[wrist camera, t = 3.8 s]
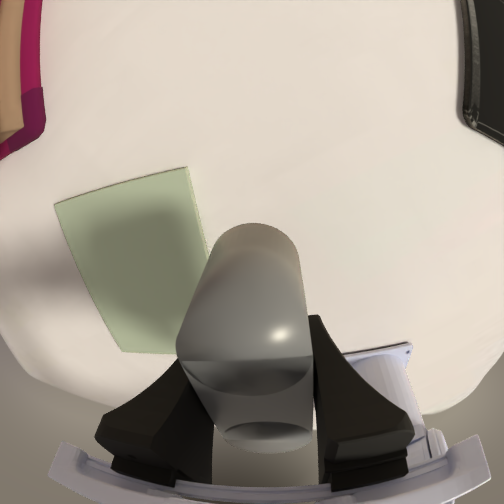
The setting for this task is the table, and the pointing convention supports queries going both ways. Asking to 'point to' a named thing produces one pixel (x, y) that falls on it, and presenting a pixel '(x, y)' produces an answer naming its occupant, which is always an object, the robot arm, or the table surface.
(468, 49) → the phone
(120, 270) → the sage mat
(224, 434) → the cylinder
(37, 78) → the book
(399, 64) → the table surface
